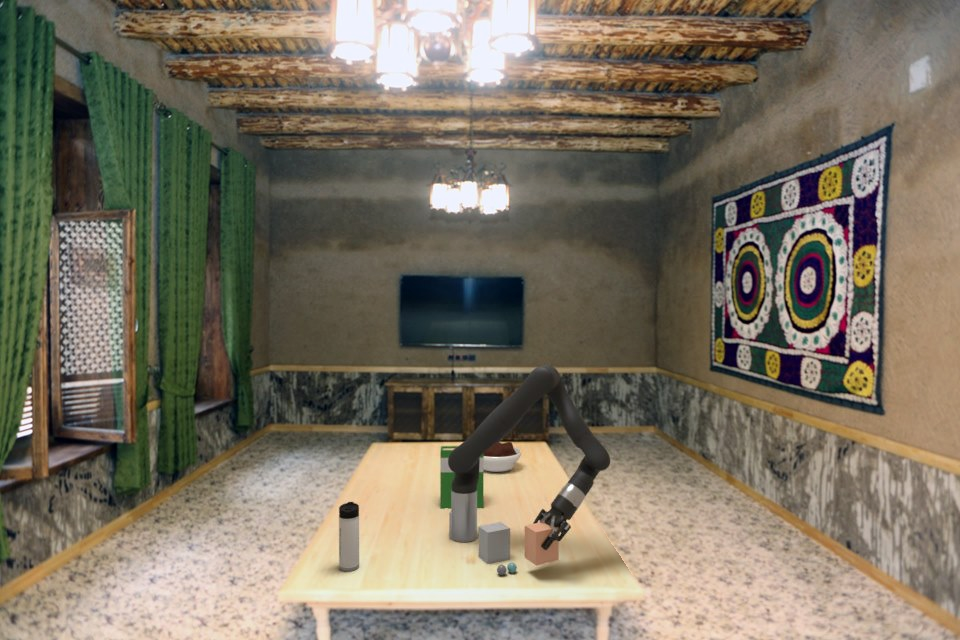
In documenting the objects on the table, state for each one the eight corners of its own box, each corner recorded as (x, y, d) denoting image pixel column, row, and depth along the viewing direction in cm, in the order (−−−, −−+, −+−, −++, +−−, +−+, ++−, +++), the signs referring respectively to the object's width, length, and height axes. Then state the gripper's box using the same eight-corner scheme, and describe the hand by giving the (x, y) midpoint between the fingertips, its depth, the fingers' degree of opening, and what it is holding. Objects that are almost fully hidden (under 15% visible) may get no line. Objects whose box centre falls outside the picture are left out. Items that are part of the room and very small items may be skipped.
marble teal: (506, 573, 186) (506, 564, 186) (508, 569, 189) (508, 560, 189) (515, 575, 185) (515, 565, 185) (517, 571, 188) (517, 561, 188)
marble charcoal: (495, 576, 184) (495, 566, 184) (498, 572, 187) (498, 562, 187) (505, 577, 183) (505, 568, 183) (507, 573, 186) (507, 563, 186)
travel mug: (360, 562, 194) (360, 501, 193) (357, 571, 187) (357, 508, 186) (341, 562, 193) (341, 501, 193) (337, 571, 187) (337, 508, 186)
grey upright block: (487, 563, 193) (487, 532, 192) (478, 556, 198) (478, 526, 198) (510, 558, 197) (510, 528, 196) (500, 551, 202) (500, 521, 202)
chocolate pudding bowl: (463, 466, 308) (463, 437, 308) (506, 461, 319) (506, 432, 318) (484, 479, 286) (484, 447, 285) (530, 473, 296) (530, 442, 296)
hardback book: (482, 502, 253) (482, 446, 252) (483, 508, 245) (483, 450, 245) (440, 502, 252) (441, 446, 251) (440, 508, 245) (440, 450, 244)
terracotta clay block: (535, 565, 182) (535, 532, 182) (524, 557, 188) (524, 525, 187) (558, 559, 186) (558, 527, 185) (547, 552, 191) (547, 520, 191)
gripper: (548, 487, 196) (517, 529, 191) (574, 500, 183) (542, 546, 178) (561, 501, 198) (531, 543, 193) (588, 514, 186) (557, 560, 181)
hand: (537, 544), depth 186 cm, fingers closed on terracotta clay block, 6 cm apart
